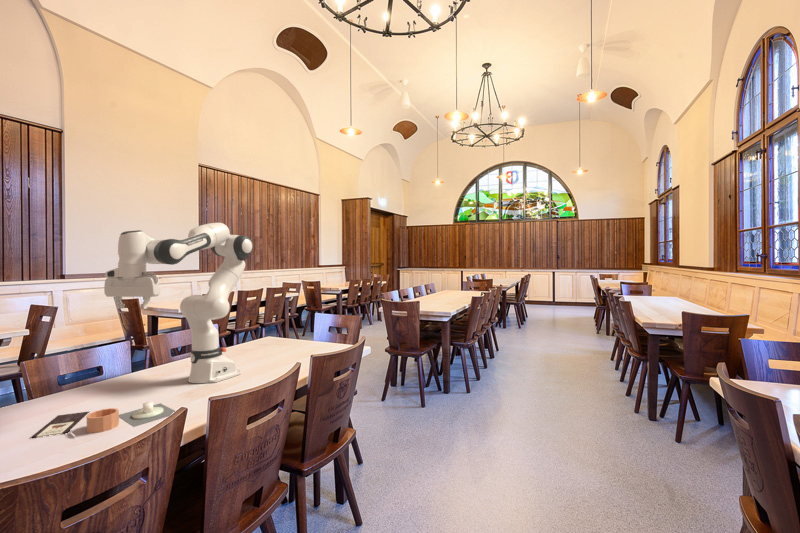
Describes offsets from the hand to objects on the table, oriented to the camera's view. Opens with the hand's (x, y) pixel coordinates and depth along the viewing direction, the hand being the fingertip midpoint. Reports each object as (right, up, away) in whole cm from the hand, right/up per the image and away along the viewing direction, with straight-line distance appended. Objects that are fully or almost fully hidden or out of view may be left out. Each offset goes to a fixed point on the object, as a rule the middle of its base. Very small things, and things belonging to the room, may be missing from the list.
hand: (132, 308), depth 144 cm
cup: (+5, -37, -21) cm, 43 cm away
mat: (+13, -37, -11) cm, 40 cm away
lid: (+13, -36, -11) cm, 40 cm away
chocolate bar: (-11, -38, -18) cm, 43 cm away
